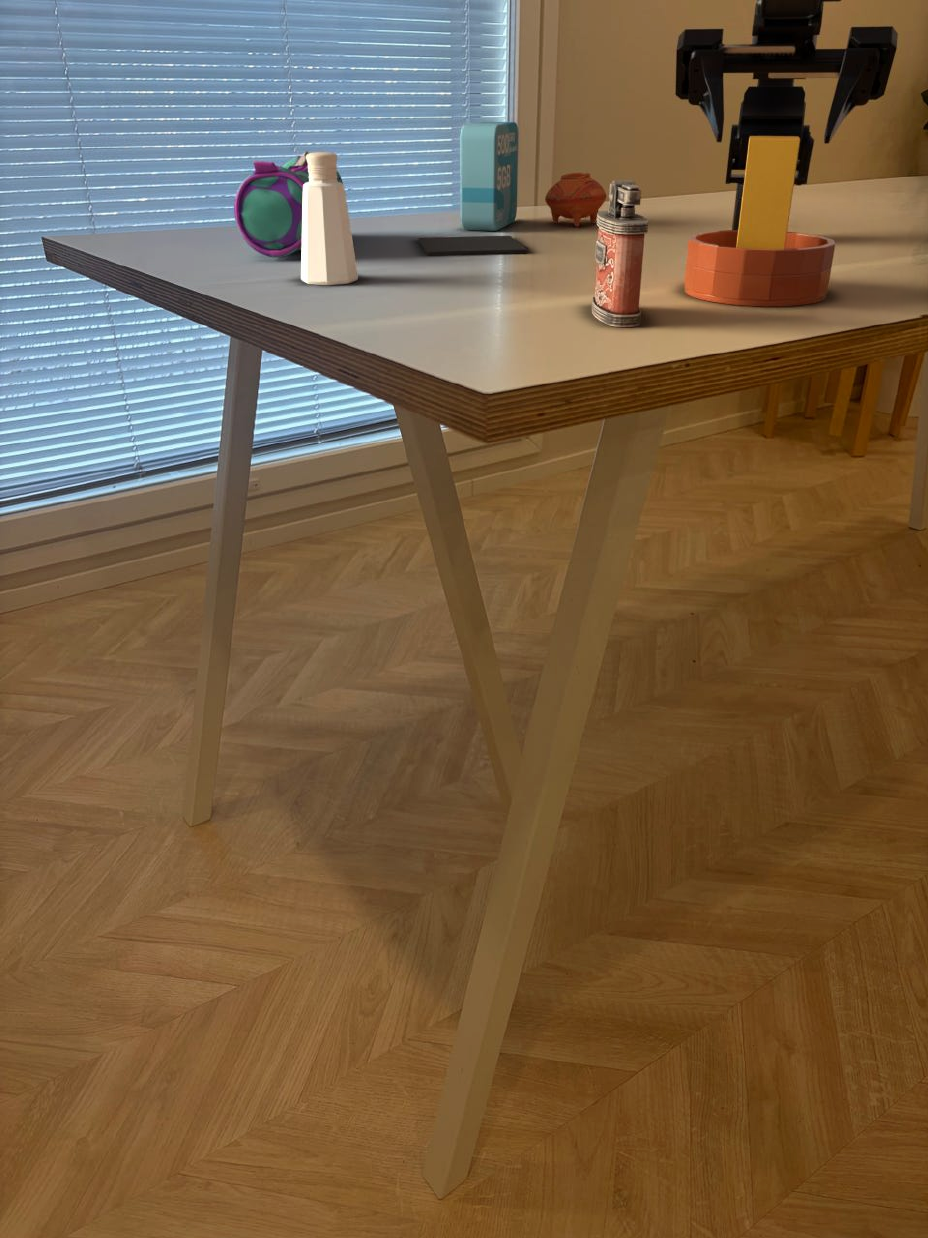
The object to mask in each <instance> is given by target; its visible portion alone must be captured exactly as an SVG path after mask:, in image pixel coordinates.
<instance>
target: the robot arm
mask: <svg viewBox="0 0 928 1238" xmlns="http://www.w3.org/2000/svg"><path fill="white" fill-rule="evenodd" d="M827 2H828V3H831V2H835V3H836V2H837V3H838V2H842V0H756V3H755V7H754V15H753V23H752V31H751V36H752V38H751V43H743V44H741V43H739V44H735V43H734V44H733V43H731V44H729V43H727V44H724V28H685V29H684V30H683V31H682V32H681V33H680V34H679V35H678V38H677V44H676V55H675V56H676V57H675V92H674V93H675V96H676V97H677V98H678V99H680V100H681V101H682V100H683V101H685V100H687V101H688V104H690V105H691V106H698V107H699V108H700V109H701V111H702V113H703V114H704V116H705V117H706V119H707V121H708V124H709V125H710V128H711V131H712V133H713V136H714V138H715V141H716V143H722V142H723V136H724V127H725V125H724V124H725V100H724V99H725V98H724V97H725V95H724V88H725V87H724V74H752V80H757V84H756V85H754V86H751V85H749V86H748V87H747V89H746V90H745V91H744V94H743V100H742V101H741V102H740V109H739V117H738V123H737V124H734V123H733V124H731V129H730V136H729V147H728V155H727V163H726V164H727V165H726V175H725V183H724V184H725V185H731V184H736V191H735V199H734V207H733V215H732V222H731V223H732V226H731V230H738V229H739V221H740V212H741V204H742V196H743V188H744V179H745V173H744V174H741V173H733V171H746V163H747V155H748V146H749V139H750V136H798V137H799V138H800V145H799V152H798V159H797V166H796V173H795V180H794V185H796V186H802V185H808V179H809V171H810V165H811V161H812V155H813V150H814V144H815V138H813V136H812V135H811V134H812V132H811V131H810V128H811V125H810V124H805V117H806V107H807V103H806V101H805V100H806V91H805V89H804V87H803V86H801V85H798V86H797V85H796V86H795V85H794V83H795V80H806V79H838V80H837V83H836V87H835V89H834V90H835V91H834V94H833V99H832V102H831V105H830V110H829V113H828V118H827V122H826V126H825V131H824V136H823V138H824V139H823V144H824V145H825V144H830V142H831V141H832V139H833V138H834V136H835V134H836V133H837V131H838V129H839V128H840V126H841V124H842V123H843V121H845V119H846V118H847V117H848V115H849V114H850V113H851V112H852V111H853V110H854V109H855V108H856V107H861V106H865V105H867V104H868V103H869V101H877V100H879V99H881V97H883V96H885V92H886V89H887V86H888V85H887V84H888V82H889V78H890V75H891V71H892V68H893V64H894V60H895V56H896V52H897V49H898V37H899V34H898V32H897V30H896V29H895V27H894V26H893V25H892V26H887V25H886V26H885V25H884V26H851V27H850V29H849V33H848V39H847V43H846V46H845V47H846V48H817V45H818V36H820V35H821V28H822V24H823V12H824V3H827Z"/></svg>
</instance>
